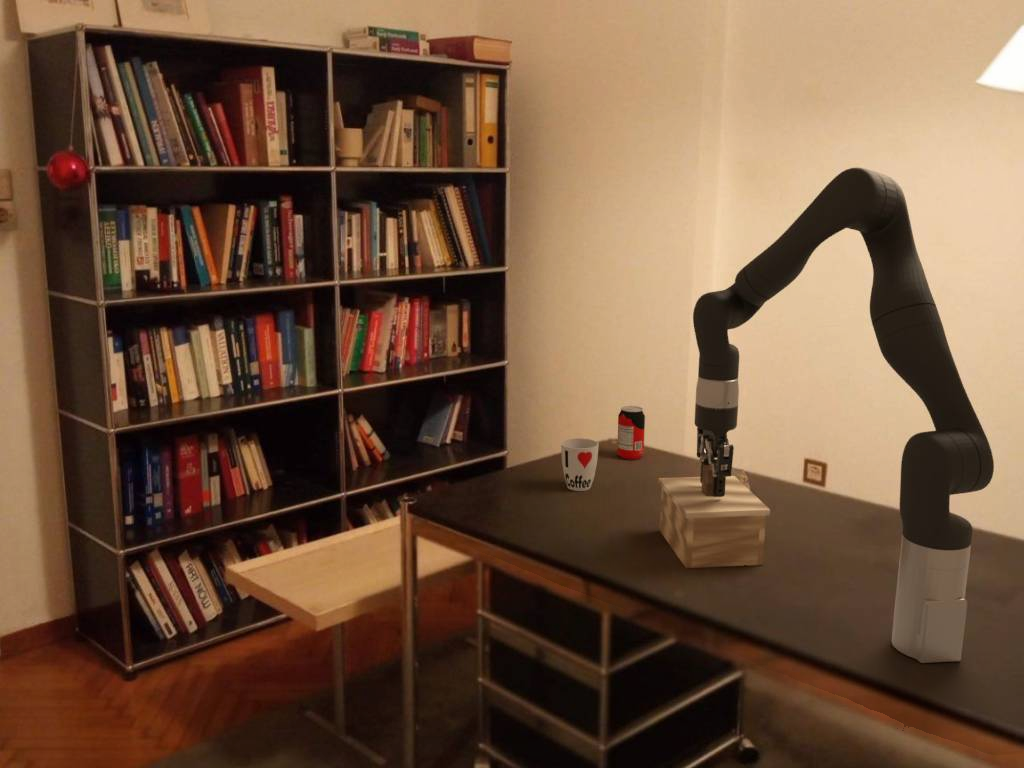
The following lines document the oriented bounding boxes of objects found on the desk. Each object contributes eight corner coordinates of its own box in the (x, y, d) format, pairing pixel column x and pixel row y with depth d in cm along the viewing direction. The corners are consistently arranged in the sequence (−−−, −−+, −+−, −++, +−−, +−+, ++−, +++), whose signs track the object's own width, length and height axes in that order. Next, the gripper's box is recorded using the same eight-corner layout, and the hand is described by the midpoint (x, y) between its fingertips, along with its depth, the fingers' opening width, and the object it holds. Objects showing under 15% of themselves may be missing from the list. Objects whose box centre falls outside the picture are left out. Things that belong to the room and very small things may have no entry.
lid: (769, 515, 174) (772, 482, 173) (686, 518, 173) (687, 485, 171) (734, 480, 193) (735, 451, 191) (658, 483, 191) (659, 453, 190)
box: (762, 564, 177) (766, 514, 175) (685, 568, 175) (688, 517, 173) (729, 527, 194) (732, 481, 192) (659, 530, 193) (661, 483, 191)
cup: (556, 491, 215) (557, 446, 213) (565, 479, 223) (566, 436, 220) (593, 495, 213) (594, 450, 211) (601, 483, 220) (602, 439, 218)
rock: (704, 485, 220) (713, 492, 210) (711, 460, 220) (720, 465, 210) (741, 495, 220) (752, 502, 210) (748, 470, 220) (760, 475, 210)
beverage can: (648, 458, 239) (650, 409, 236) (627, 462, 236) (629, 413, 233) (632, 451, 244) (634, 404, 241) (611, 455, 241) (613, 407, 238)
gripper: (750, 411, 172) (745, 502, 176) (724, 391, 186) (719, 476, 190) (708, 412, 171) (703, 504, 175) (685, 392, 185) (681, 478, 189)
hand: (712, 489), depth 182 cm, fingers open, 6 cm apart
